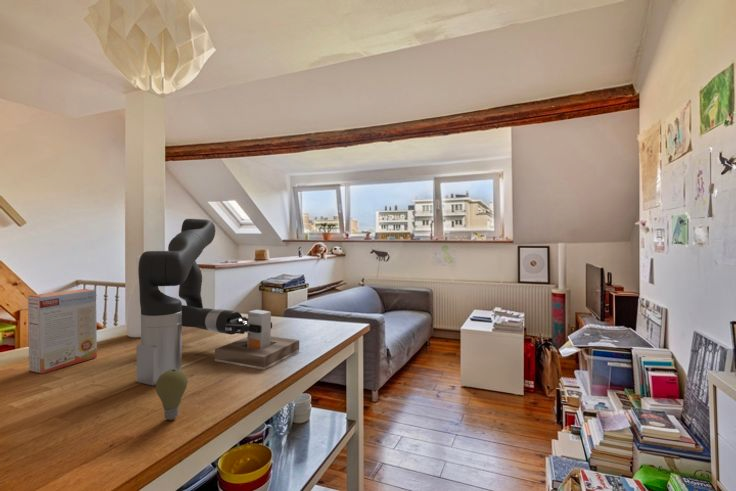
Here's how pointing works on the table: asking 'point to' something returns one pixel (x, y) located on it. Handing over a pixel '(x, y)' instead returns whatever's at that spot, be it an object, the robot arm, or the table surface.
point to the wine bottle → (134, 309)
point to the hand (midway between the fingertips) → (266, 327)
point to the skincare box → (262, 338)
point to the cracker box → (61, 329)
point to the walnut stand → (257, 353)
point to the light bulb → (171, 391)
